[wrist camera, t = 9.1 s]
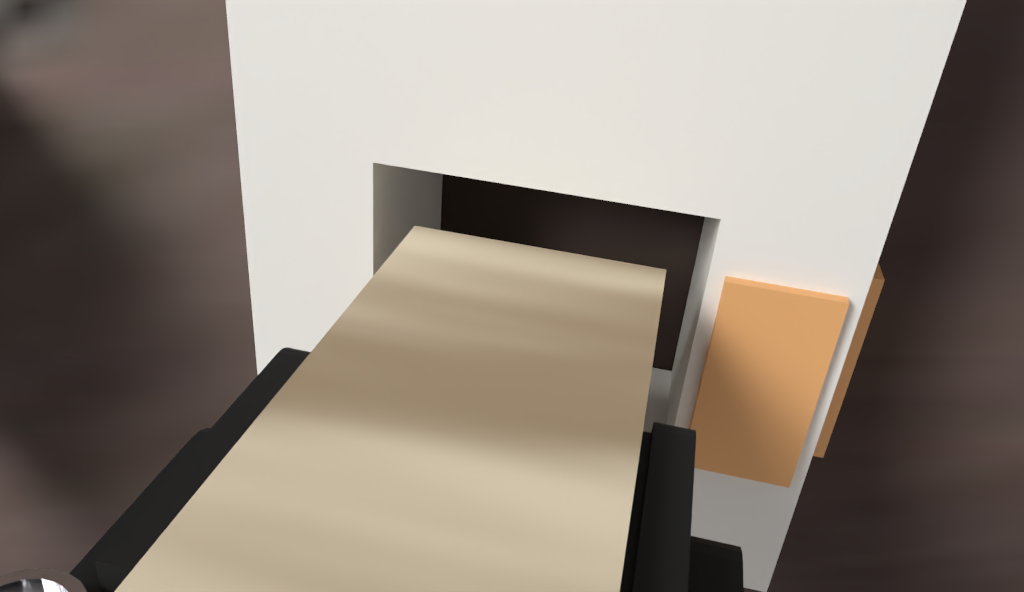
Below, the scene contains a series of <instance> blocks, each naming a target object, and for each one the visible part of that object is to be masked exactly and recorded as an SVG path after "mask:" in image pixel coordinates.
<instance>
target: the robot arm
mask: <svg viewBox="0 0 1024 592" xmlns="http://www.w3.org/2000/svg"><path fill="white" fill-rule="evenodd" d="M310 353H311V352H308V351H303V350H298V349H293V348H288V347H286V348H283V349H281V350H280V351H279V352H278V353H277V354H276V355H275V356H274V358H273V359H272V360H271V361H270V362H269V363H268V364H267V366H266V367H265V368H264V369H263V370H262V371H261V372H260V373H259V375H258V376H257V377H256V378H255V379H254V380H253V381H252V383H251V384H250V385H249V386H248V387H247V388H246V389H245V391H244V392H243V393H242V394H241V395H240V396H239V397H238V398H237V400H236V401H235V402H234V403H233V404H232V405H231V406H230V408H229V409H228V410H227V411H226V412H225V413H224V414H223V415H222V417H221V418H220V419H219V420H218V421H217V422H216V423H215V425H214V426H213V427H212V428H211V429H210V428H207V429H204V430H201V431H199V432H198V433H197V434H196V435H194V436H193V437H192V438H191V439H190V440H189V441H188V443H187V444H186V445H185V446H184V447H183V448H182V449H181V450H180V451H179V453H178V454H177V455H176V456H175V457H174V458H173V459H172V460H171V461H170V463H169V464H168V465H167V466H166V467H165V468H164V469H163V470H162V471H161V473H160V474H159V475H158V476H157V477H156V478H155V479H154V480H153V481H152V483H151V484H150V485H149V486H148V487H147V488H146V489H145V490H144V491H143V493H142V494H141V495H140V496H139V497H138V498H137V499H136V500H135V501H134V503H133V504H132V505H131V506H130V507H129V508H128V509H127V510H126V511H125V512H124V514H123V515H122V516H121V517H120V518H119V519H118V520H117V521H116V522H115V524H114V525H113V526H112V527H111V528H110V529H109V530H108V531H107V532H106V534H105V535H104V536H103V537H102V538H101V539H100V540H99V541H98V542H97V544H96V545H95V546H94V547H93V548H92V549H91V550H90V551H89V552H88V554H87V555H86V556H85V557H84V558H83V559H82V560H81V561H80V562H79V564H78V565H77V566H76V567H75V568H74V569H73V570H72V571H71V572H70V574H69V573H67V572H64V571H59V570H55V569H50V568H36V569H24V570H20V571H15V572H11V573H7V574H3V575H1V576H0V592H114V591H115V590H116V589H117V588H118V587H119V585H120V584H121V583H122V582H123V580H124V579H125V578H126V577H127V576H128V574H129V573H130V572H131V571H132V569H133V568H134V567H135V566H136V565H137V563H138V562H139V561H140V560H141V558H142V557H143V556H144V555H145V554H146V552H147V551H148V550H149V549H150V548H151V546H152V545H153V544H154V543H155V541H156V540H157V539H158V538H159V537H160V535H161V534H162V533H163V532H164V530H165V529H166V528H167V527H168V526H169V524H170V523H171V522H172V521H173V519H174V518H175V517H176V516H177V515H178V513H179V512H180V511H181V510H182V509H183V507H184V506H185V505H186V504H187V502H188V501H189V500H190V499H191V498H192V496H193V495H194V494H195V493H196V491H197V490H198V489H199V488H200V487H201V485H202V484H203V483H204V482H205V481H206V479H207V478H208V477H209V476H210V474H211V473H212V472H213V471H214V470H215V468H216V467H217V466H218V465H219V463H220V462H221V461H222V460H223V459H224V457H225V456H226V455H227V454H228V452H229V451H230V450H231V449H232V448H233V446H234V445H235V444H236V443H237V442H238V440H239V439H240V438H241V437H242V435H243V434H244V433H245V432H246V431H247V429H248V428H249V427H250V426H251V424H252V423H253V422H254V421H255V420H256V418H257V417H258V416H259V415H260V414H261V412H262V411H263V410H264V409H265V407H266V406H267V405H268V404H269V403H270V401H271V400H272V399H273V398H274V396H275V395H276V394H277V393H278V392H279V390H280V389H281V388H282V387H283V385H284V384H285V383H286V382H287V381H288V379H289V378H290V377H291V376H292V375H293V373H294V372H295V371H296V370H297V368H298V367H299V366H300V365H301V364H302V362H303V361H304V360H305V359H306V357H307V356H308V355H309V354H310ZM695 449H696V430H692V429H687V428H682V427H677V426H672V425H667V424H662V423H657V422H654V423H653V427H652V431H651V433H650V432H645V431H643V434H642V441H641V448H640V455H639V462H638V469H637V476H636V483H635V489H634V496H633V503H632V510H631V517H630V524H629V531H628V538H627V544H626V551H625V558H624V565H623V572H622V579H621V586H620V592H744V586H743V555H742V550H741V547H739V546H735V545H730V544H726V543H722V542H717V541H713V540H708V539H704V538H699V537H695V536H691V522H692V504H693V486H694V467H695Z"/></svg>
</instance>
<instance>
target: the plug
mask: <svg viewBox="0 0 1024 592" xmlns="http://www.w3.org/2000/svg"><path fill="white" fill-rule="evenodd" d="M665 276H666V269H660V268H654V267H649V266H643V265H637V264H631V263H626V262H620V261H614V260H609V259H603V258H597V257H591V256H586V255H580V254H574V253H568V252H563V251H557V250H551V249H546V248H540V247H534V246H528V245H523V244H517V243H511V242H505V241H500V240H494V239H488V238H483V237H477V236H471V235H465V234H460V233H454V232H448V231H443V230H437V229H431V228H425V227H420V226H414V227H413V228H412V230H411V231H410V232H409V233H408V234H407V236H406V237H405V238H404V239H403V240H402V242H401V243H400V244H399V245H398V247H397V248H396V249H395V250H394V251H393V253H392V254H391V255H390V256H389V258H388V259H387V260H386V261H385V262H384V264H383V265H382V266H381V267H380V269H379V270H378V271H377V272H376V273H375V275H374V276H373V277H372V278H371V279H370V281H369V282H368V283H367V284H366V286H365V287H364V288H363V289H362V290H361V292H360V293H359V294H358V295H357V297H356V298H355V299H354V300H353V301H352V303H351V304H350V305H349V306H348V308H347V309H346V310H345V311H344V312H343V314H342V315H341V316H340V317H339V318H338V320H337V321H336V322H335V323H334V325H333V326H332V327H331V328H330V329H329V331H328V332H327V333H326V334H325V336H324V337H323V338H322V339H321V340H320V342H319V343H318V344H317V345H316V346H315V348H314V349H313V350H312V351H311V353H310V354H309V355H308V356H307V357H306V359H305V360H304V361H303V362H302V364H301V365H300V366H299V367H298V368H297V370H296V371H295V372H294V373H293V375H292V376H291V377H290V378H289V379H288V381H287V382H286V383H285V384H284V385H283V387H282V388H281V389H280V390H279V392H278V393H277V394H276V395H275V396H274V398H273V399H272V400H271V401H270V403H269V404H268V405H267V406H266V407H265V409H264V410H263V411H262V412H261V414H260V415H259V416H258V417H257V418H256V420H255V421H254V422H253V423H252V424H251V426H250V427H249V428H248V429H247V431H246V432H245V433H244V434H243V435H242V437H241V438H240V439H239V440H238V442H237V443H236V444H235V445H234V446H233V448H232V449H231V450H230V451H229V452H228V454H227V455H226V456H225V457H224V459H223V460H222V461H221V462H220V463H219V465H218V466H217V467H216V468H215V470H214V471H213V472H212V473H211V474H210V476H209V477H208V478H207V479H206V481H205V482H204V483H203V484H202V485H201V487H200V488H199V489H198V490H197V491H196V493H195V494H194V495H193V496H192V498H191V499H190V500H189V501H188V502H187V504H186V505H185V506H184V507H183V509H182V510H181V511H180V512H179V513H178V515H177V516H176V517H175V518H174V519H173V521H172V522H171V523H170V524H169V526H168V527H167V528H166V529H165V530H164V532H163V533H162V534H161V535H160V537H159V538H158V539H157V540H156V541H155V543H154V544H153V545H152V546H151V548H150V549H149V550H148V551H147V552H146V554H145V555H144V556H143V557H142V558H141V560H140V561H139V562H138V563H137V565H136V566H135V567H134V568H133V569H132V571H131V572H130V573H129V574H128V576H127V577H126V578H125V579H124V580H123V582H122V583H121V584H120V585H119V587H118V588H117V589H116V590H115V591H114V592H620V586H621V579H622V572H623V565H624V558H625V551H626V544H627V538H628V531H629V524H630V517H631V510H632V503H633V496H634V489H635V483H636V476H637V469H638V462H639V455H640V448H641V441H642V434H643V428H644V421H645V414H646V407H647V400H648V393H649V386H650V379H651V373H652V366H653V359H654V352H655V345H656V338H657V331H658V325H659V318H660V311H661V304H662V297H663V290H664V283H665Z"/></svg>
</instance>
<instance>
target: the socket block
mask: <svg viewBox="0 0 1024 592" xmlns="http://www.w3.org/2000/svg"><path fill="white" fill-rule="evenodd" d="M966 1H967V0H226V10H227V22H228V33H229V45H230V57H231V69H232V80H233V92H234V104H235V115H236V127H237V139H238V150H239V162H240V174H241V186H242V197H243V209H244V221H245V232H246V244H247V256H248V267H249V279H250V291H251V303H252V314H253V326H254V338H255V349H256V361H257V373H258V375H259V373H260V372H261V371H262V370H263V369H264V368H265V367H266V366H267V364H268V363H269V362H270V361H271V360H272V359H273V358H274V356H275V355H276V354H277V353H278V352H279V351H280V350H281V349H283V348H286V347H288V348H293V349H298V350H303V351H308V352H311V351H312V350H313V349H314V348H315V346H316V345H317V344H318V343H319V342H320V340H321V339H322V338H323V337H324V336H325V334H326V333H327V332H328V331H329V329H330V328H331V327H332V326H333V325H334V323H335V322H336V321H337V320H338V318H339V317H340V316H341V315H342V314H343V312H344V311H345V310H346V309H347V308H348V306H349V305H350V304H351V303H352V301H353V300H354V299H355V298H356V297H357V295H358V294H359V293H360V292H361V290H362V289H363V288H364V287H365V286H366V284H367V283H368V282H369V281H370V279H371V278H372V277H373V276H374V275H375V273H376V272H377V271H378V270H379V269H380V267H381V266H382V265H383V264H384V262H385V261H386V260H387V259H388V258H389V256H390V255H391V254H392V253H393V251H394V250H395V249H396V248H397V247H398V245H399V244H400V243H401V242H402V240H403V239H404V238H405V237H406V236H407V234H408V233H409V232H410V231H411V230H412V228H413V227H414V226H420V227H425V228H431V229H437V230H440V228H441V205H442V181H443V174H446V175H453V176H459V177H465V178H471V179H477V180H483V181H489V182H496V183H502V184H508V185H514V186H520V187H526V188H532V189H538V190H545V191H551V192H557V193H563V194H569V195H575V196H581V197H588V198H594V199H600V200H606V201H612V202H618V203H624V204H630V205H637V206H643V207H649V208H655V209H661V210H667V211H673V212H679V213H686V214H692V215H698V216H704V217H705V219H704V223H703V228H702V233H701V237H700V242H699V247H698V251H697V256H696V261H695V265H694V270H693V275H692V279H691V284H690V288H689V293H688V298H687V302H686V307H685V312H684V316H683V321H682V326H681V330H680V335H679V340H678V344H677V349H676V354H675V358H674V363H673V368H672V371H668V370H663V369H658V368H653V367H652V373H651V379H650V386H649V393H648V400H647V407H646V414H645V421H644V428H643V431H645V432H650V433H651V431H652V427H653V423H654V422H657V423H662V424H667V425H672V426H677V427H682V428H687V429H692V430H696V449H695V467H694V486H693V504H692V522H691V536H695V537H699V538H704V539H708V540H713V541H717V542H722V543H726V544H730V545H735V546H739V547H741V550H742V555H743V586H744V588H749V589H753V590H758V591H762V592H767V590H768V587H769V584H770V581H771V578H772V575H773V572H774V569H775V566H776V563H777V560H778V557H779V554H780V551H781V548H782V545H783V542H784V539H785V536H786V533H787V530H788V527H789V524H790V522H791V519H792V516H793V513H794V510H795V507H796V504H797V501H798V498H799V495H800V492H801V489H802V486H803V483H804V480H805V477H806V474H807V471H808V468H809V465H810V462H811V459H812V456H816V457H821V458H823V457H824V454H825V451H826V448H827V445H828V443H829V440H830V437H831V434H832V431H833V428H834V425H835V422H836V419H837V417H838V414H839V411H840V408H841V405H842V402H843V399H844V396H845V393H846V391H847V388H848V385H849V382H850V379H851V376H852V373H853V370H854V367H855V365H856V362H857V359H858V356H859V353H860V350H861V347H862V344H863V341H864V339H865V336H866V333H867V330H868V327H869V324H870V321H871V318H872V316H873V313H874V310H875V307H876V304H877V301H878V298H879V295H880V292H881V290H882V287H883V284H884V281H885V280H884V277H883V274H882V271H881V268H880V265H879V263H878V261H879V258H880V255H881V252H882V249H883V246H884V243H885V240H886V237H887V234H888V231H889V229H890V226H891V223H892V220H893V217H894V214H895V211H896V208H897V205H898V202H899V199H900V196H901V193H902V190H903V187H904V184H905V181H906V178H907V175H908V172H909V169H910V166H911V163H912V160H913V158H914V155H915V152H916V149H917V146H918V143H919V140H920V137H921V134H922V131H923V128H924V125H925V122H926V119H927V116H928V113H929V110H930V107H931V104H932V101H933V98H934V95H935V92H936V89H937V86H938V84H939V81H940V78H941V75H942V72H943V69H944V66H945V63H946V60H947V57H948V54H949V51H950V48H951V45H952V42H953V39H954V36H955V33H956V30H957V27H958V24H959V21H960V18H961V15H962V12H963V10H964V7H965V4H966Z"/></svg>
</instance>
